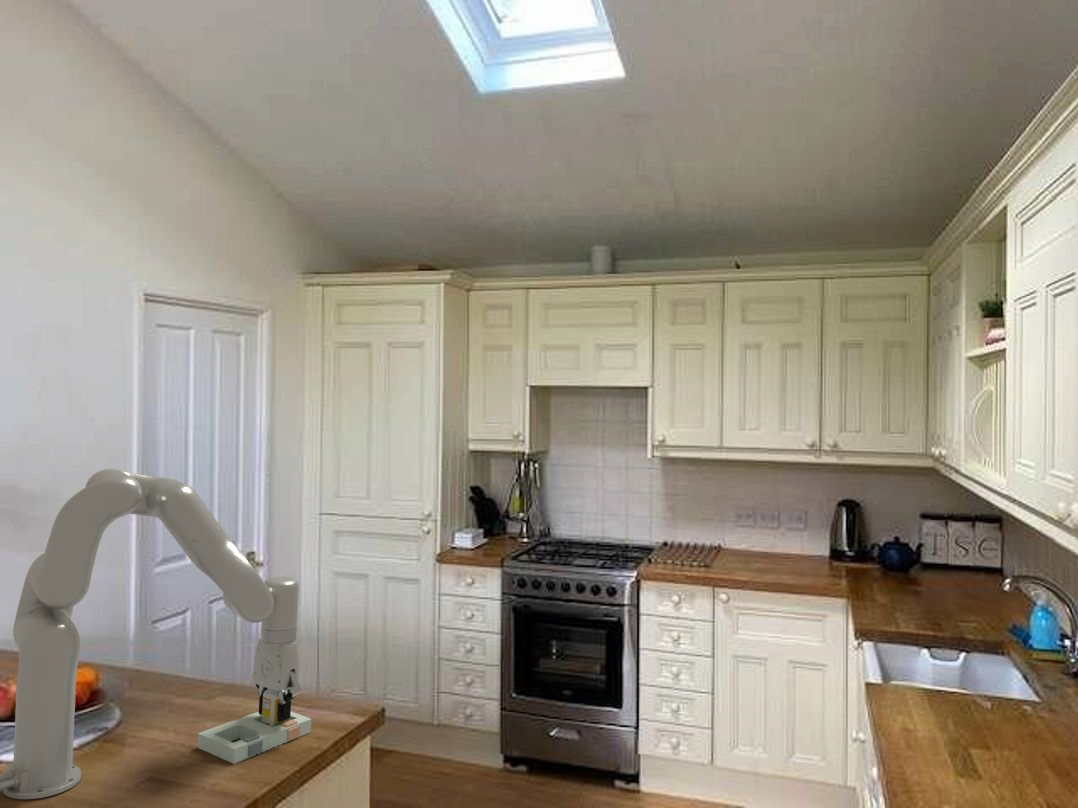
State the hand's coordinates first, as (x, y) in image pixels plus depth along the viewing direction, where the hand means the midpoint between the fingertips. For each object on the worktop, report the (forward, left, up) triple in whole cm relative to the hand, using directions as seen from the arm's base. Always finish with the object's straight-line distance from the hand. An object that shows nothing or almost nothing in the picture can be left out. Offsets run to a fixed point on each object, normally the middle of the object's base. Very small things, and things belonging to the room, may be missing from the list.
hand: (274, 715), depth 180 cm
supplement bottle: (0, 0, -2) cm, 2 cm away
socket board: (-5, 0, -4) cm, 6 cm away
